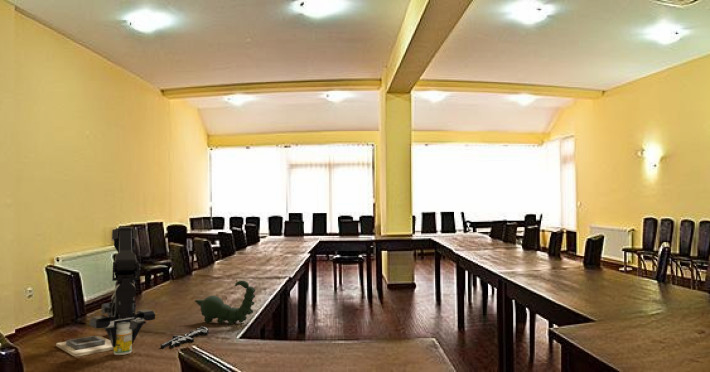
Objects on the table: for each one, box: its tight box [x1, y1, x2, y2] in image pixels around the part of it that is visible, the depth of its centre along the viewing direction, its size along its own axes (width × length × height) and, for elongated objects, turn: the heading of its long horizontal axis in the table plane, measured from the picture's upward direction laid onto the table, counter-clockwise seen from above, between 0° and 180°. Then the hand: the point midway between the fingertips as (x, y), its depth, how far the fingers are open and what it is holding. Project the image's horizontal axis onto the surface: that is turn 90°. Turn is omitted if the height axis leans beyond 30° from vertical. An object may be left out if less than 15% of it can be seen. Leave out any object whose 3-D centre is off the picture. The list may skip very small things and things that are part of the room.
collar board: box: [55, 335, 114, 358], centre depth 164 cm, size 14×18×2 cm
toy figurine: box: [194, 280, 256, 326], centre depth 203 cm, size 9×19×25 cm
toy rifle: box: [160, 326, 209, 350], centre depth 177 cm, size 28×2×10 cm
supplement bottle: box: [112, 322, 133, 356], centre depth 158 cm, size 5×5×10 cm
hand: (122, 345), depth 158 cm, fingers closed on supplement bottle, 5 cm apart
